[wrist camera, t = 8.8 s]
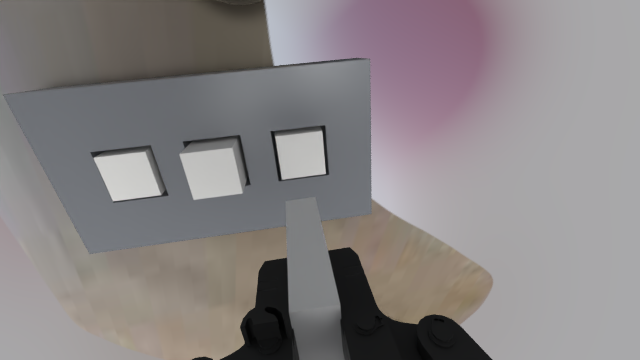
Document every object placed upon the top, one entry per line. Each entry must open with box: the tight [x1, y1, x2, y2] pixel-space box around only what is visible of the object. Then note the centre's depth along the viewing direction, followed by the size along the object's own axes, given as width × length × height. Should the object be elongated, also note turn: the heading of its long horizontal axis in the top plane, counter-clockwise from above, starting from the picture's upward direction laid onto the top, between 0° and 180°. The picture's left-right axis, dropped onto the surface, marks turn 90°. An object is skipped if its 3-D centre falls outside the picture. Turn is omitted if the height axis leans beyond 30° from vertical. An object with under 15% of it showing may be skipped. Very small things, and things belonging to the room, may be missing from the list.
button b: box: [179, 135, 248, 200], centre depth 26 cm, size 4×4×4 cm
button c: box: [275, 126, 326, 180], centre depth 29 cm, size 4×4×4 cm
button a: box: [94, 145, 166, 201], centre depth 28 cm, size 4×4×4 cm
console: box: [3, 58, 371, 254], centre depth 29 cm, size 16×30×5 cm, turn 95°
